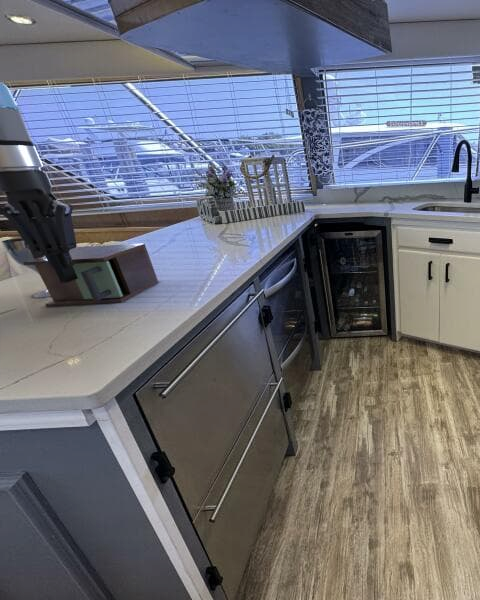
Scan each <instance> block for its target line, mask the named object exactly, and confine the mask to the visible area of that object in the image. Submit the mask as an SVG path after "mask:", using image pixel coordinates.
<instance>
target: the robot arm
mask: <svg viewBox="0 0 480 600" xmlns="http://www.w3.org/2000/svg"><path fill="white" fill-rule="evenodd" d="M20 110H21V108H20V106H19V105H18V104H17V102H16V100H15V99H14V96H13V94H12V92H11V90H10V89H9V87H8V86H7V85H6V84H5V83H3V82H1V81H0V192H4V193H5V195H6V196H5V197H6V198H5V199H6V202H7V203H6V204H5V206H0V214H1V215H2V216H4V217H5V218H6V219H7V220H8V221H9V222H10V224H11V226H13V228H14V229H15V231H16V232H17V233H18V234H19V236H20V237H22V238H23V239H24V241H25V242H26V243H27V245H28V246H29V247H30V249H31V250H32V251H34V252H37V251H38V252H42V253H43V254H45V256H46V258H47V260H48V261H49V264H50V266H51V267H52V268H54V269H55V271H56V273H57V275H58V278H59V280H60V282H61V283H66V282H70V281H73V280H75V279H78V277H77V275H76V273H75V271H74V268H73V265H74V262H73V261H72V258H71V256H70V254H69V250H71V249H73V248H76V247H78V245H77V240H76V235H75V234H76V233H75V228H74V223H73V217H72V214H73V211H74V210H73V209H74V207H73V205H72V204H71V203H63V202H62V201H59V200H58V198H57V197H56V196H55V195H54V194H53V192H52V189H53V185H52V183H51V182H52V181H50V178H49V176H48V173H47V172H46V171H45V170H41V168H43V167H44V165H43V162H42V160H41V158H40V155H39V153H38V151H37V148H36V146H35V144H34V142H33V139H32V137H31V135H30V132H29V130H28V128H27V126H26V124H25V123H26V122H25V121H24V118H23V116H22V112H21V111H20Z"/></svg>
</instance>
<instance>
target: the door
mask: <svg viewBox="0 0 480 600" xmlns="http://www.w3.org/2000/svg"><path fill="white" fill-rule="evenodd" d="M73 268H74V271H75V273H76V275H77V277H78V279H75V280H76V282H77V285H78V287H79V289H80V291H81V293H82V295H83V297H84V299H93V300H94V301H97V300H101V299H102V298H116V297H122V296H123V295H122V292H121V290H120V287H119V285H118V282H117V280H116V278H115V275H114V273H113V270H112V268H111V266H110V263H109V261H97V262H78V263H74V265H73Z"/></svg>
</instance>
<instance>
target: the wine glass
mask: <svg viewBox="0 0 480 600" xmlns="http://www.w3.org/2000/svg"><path fill="white" fill-rule="evenodd" d="M1 243H2V246H3V247H4V249H5V250H6V252H7V254H9V256H10V257H11V258H12V259H13V260H14V261H15V262H16V263H17V264H18V265H20V266H23V267H25V268H27V269H30V270H32V271H34V272H35V273H37V274H38V275H39V276H40V274H39V272H38V270H37V268H36V266H35V265H24V264H23V262H25V261H29V260H32V259H36V258H39V257H43V256H45V254H43V253H42V252H38V251H37V252H34V251H32V250H31V249H30V247H29V246H28V245H27V243H26V242H25V241H24V239H23V238H22V237H21V236H20V237H14V238H8V239H4V240H2V241H1ZM47 297H51V295H50V293H49V291H48V290H47V289H45V290H44V291H41V292H38V293H36V294H34V295H33V298H35V299H36V298H37V299H39V298H40V299H41V298H42V299H43V298H47Z"/></svg>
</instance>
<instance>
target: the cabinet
mask: <svg viewBox="0 0 480 600" xmlns="http://www.w3.org/2000/svg"><path fill="white" fill-rule="evenodd" d="M69 254H70V256H71V258H72V261H73V262H74V263H78V262H97V261H109V263H110V266H111V268H112V270H113V273H114V275H115V278H116V280H117V282H118V285H119V287H120V290H121V292H122V295H123V296H122V297H116V298H102V299H101V300H97V301H94V300H93V299H84V297H83V295H82V293H81V291H80V289H79V287H78V285H77V282H76V280H73V281H70V282H66V283H61V282H60V280H59V278H58V275H57V273H56V271H55V269H54V268H52V267H51V266H50V264H49V261H48V260H47V258H46V256H43V257H39V258H36V259H32V260H29V261H25V262H23V264H24V265H35V266H36V268H37V270H38V272H39V274H40V275H39V274H38V275H39V276H40V278H41V280H42V282H43V283H44V285H45V287H46V290H48V291H49V293H50V295H51V296H50V298H51V299H52V300H50V301H48V302H45V303H44V305H45V307H47V308H49V307H64V306H80V305H97V304H113V303H114V304H115V303H123V302H125V301H127V300H128V299H130V298H132V297H134V296H136V295H138V294H139V293H141V292H143V291H145V290H147V289H148V288H150V287H152V286H154V285H156V284H158V283H159V280H158V277H157V274H156V271H155V269H154V267H153V266H154V265H153V262H152V261H151V258H150V254H149V251H148V249H147V247H146V244H145V243H128V244H127V243H126V244H108V245H89V246H77V247H76V248H73V249H71V250H69Z"/></svg>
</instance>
